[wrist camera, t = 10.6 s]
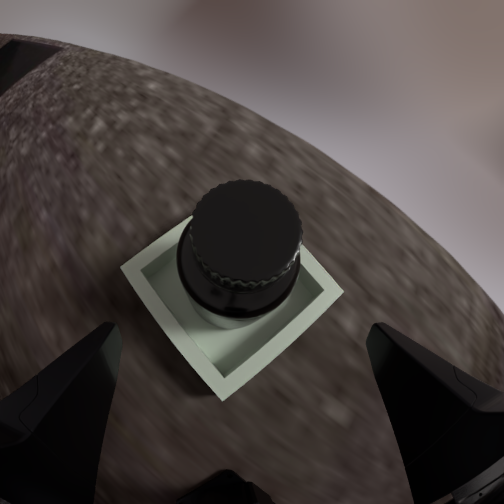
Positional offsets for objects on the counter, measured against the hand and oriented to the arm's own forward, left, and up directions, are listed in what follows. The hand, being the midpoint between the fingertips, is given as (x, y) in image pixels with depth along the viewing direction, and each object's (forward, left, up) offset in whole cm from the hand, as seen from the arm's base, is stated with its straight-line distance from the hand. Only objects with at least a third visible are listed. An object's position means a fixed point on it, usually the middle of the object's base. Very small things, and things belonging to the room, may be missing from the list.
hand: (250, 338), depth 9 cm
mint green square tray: (+3, +4, -13) cm, 14 cm away
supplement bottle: (+3, +4, -13) cm, 14 cm away
